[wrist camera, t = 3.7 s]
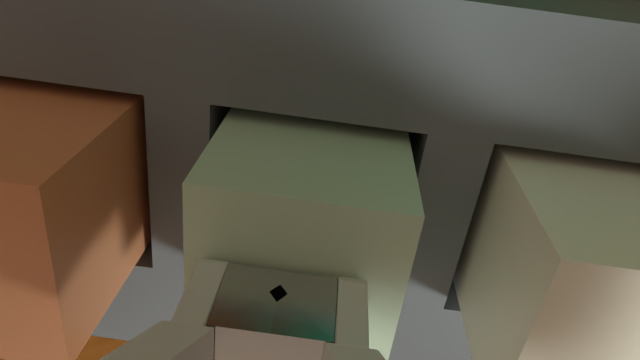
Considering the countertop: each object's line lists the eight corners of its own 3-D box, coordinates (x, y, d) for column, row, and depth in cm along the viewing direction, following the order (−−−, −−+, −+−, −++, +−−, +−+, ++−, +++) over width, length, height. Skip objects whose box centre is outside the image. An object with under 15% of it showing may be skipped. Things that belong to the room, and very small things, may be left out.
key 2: (637, 136, 13) (827, 296, 8) (581, 262, 15) (700, 458, 10) (481, 115, 13) (561, 259, 8) (444, 243, 15) (488, 428, 10)
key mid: (400, 95, 14) (425, 216, 8) (375, 220, 16) (382, 384, 10) (252, 75, 14) (182, 183, 8) (245, 202, 16) (184, 355, 10)
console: (714, 7, 14) (880, 56, 9) (580, 292, 18) (648, 414, 14) (-21, -92, 14) (-199, -89, 9) (34, 216, 19) (-67, 312, 14)
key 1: (169, 72, 13) (38, 186, 8) (173, 205, 15) (69, 368, 10) (15, 51, 13) (-218, 150, 8) (38, 186, 15) (-138, 339, 10)
